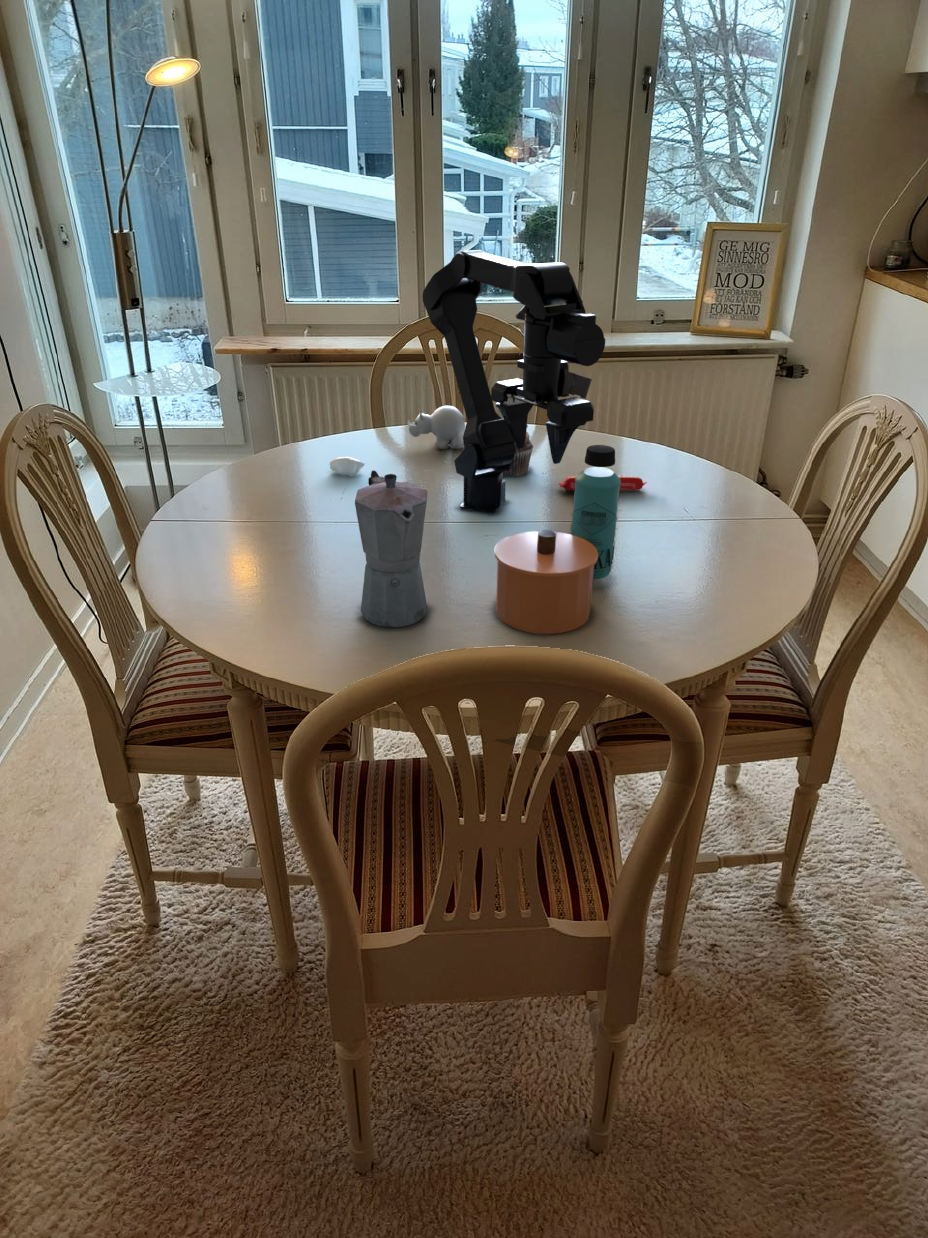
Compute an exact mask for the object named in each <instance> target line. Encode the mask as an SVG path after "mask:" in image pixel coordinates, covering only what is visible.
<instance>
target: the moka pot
mask: <svg viewBox="0 0 928 1238" xmlns="http://www.w3.org/2000/svg"><path fill="white" fill-rule="evenodd" d="M397 478H398V476H397V475H396V473H395V474H394V473H387V474H385V475H384V476H380V475H379V473H378V472H377V471H376V470H375V469H374V470H371V473H370V477H368V480H367V483H368V485H367V486H364V487H361V488H358V489H357V491H356V495H355V500H354V507H355V512H356V513H355V514H356V519H357V523H358V530H359V536H360V542H361V544H362V551H363V553H364V555H365V566H364V575H363V584H362V585H363V586H362V593H361V603H360V606H361V607H360V612H361V615H362V617H364V619H365V620H366V621H367V622H369V623H371V624H373V625H376V626H378V627H383V628H402V627H408V626H411V625H414V624H416V623H417V622H419V621H421V620H422V619H423V618H424V617H425V616H426V613H427V610H428V603H427V597H426V591H425V585H424V579H423V573H422V567H421V562H420V561H421V551H422V545H423V536H424V527H425V519H426V510H427V500H428V491H427V489H425V488H423V487H421V486H418V485H416V484H413V483H410V482H408V481H397Z"/></svg>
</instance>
